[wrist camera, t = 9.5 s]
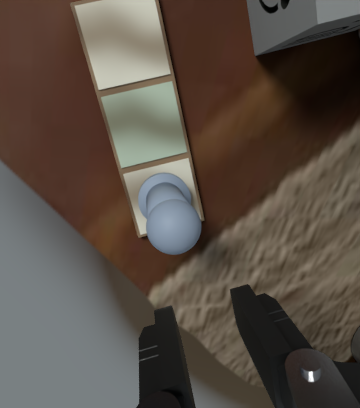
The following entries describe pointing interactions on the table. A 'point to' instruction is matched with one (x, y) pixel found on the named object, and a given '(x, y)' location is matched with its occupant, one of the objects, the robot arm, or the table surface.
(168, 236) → the pawn
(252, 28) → the icon cube
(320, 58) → the table surface
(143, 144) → the board
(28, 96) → the table surface
